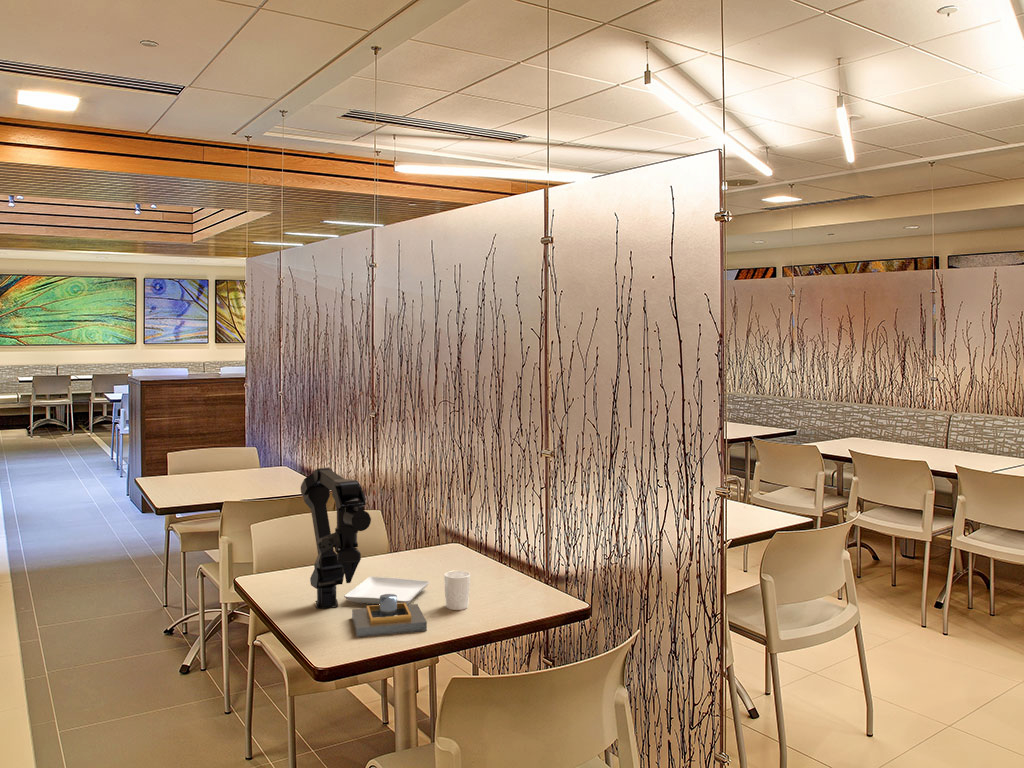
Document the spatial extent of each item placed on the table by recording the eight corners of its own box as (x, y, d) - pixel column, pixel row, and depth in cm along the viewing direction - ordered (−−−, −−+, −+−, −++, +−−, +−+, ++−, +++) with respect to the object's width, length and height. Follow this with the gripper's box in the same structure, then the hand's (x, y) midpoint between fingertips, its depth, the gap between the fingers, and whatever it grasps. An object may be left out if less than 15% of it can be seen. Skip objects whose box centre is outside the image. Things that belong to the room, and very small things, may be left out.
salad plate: (408, 611, 232) (408, 600, 231) (342, 606, 236) (342, 595, 236) (430, 590, 252) (430, 580, 252) (369, 586, 257) (369, 575, 257)
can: (378, 622, 221) (378, 594, 221) (395, 620, 222) (395, 593, 222) (380, 628, 216) (380, 599, 216) (397, 626, 218) (398, 598, 217)
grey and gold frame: (352, 618, 224) (352, 604, 224) (417, 612, 230) (417, 599, 229) (356, 637, 209) (356, 622, 209) (426, 630, 214) (426, 616, 214)
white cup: (470, 602, 239) (470, 570, 239) (469, 611, 231) (469, 577, 231) (444, 602, 239) (444, 570, 238) (443, 611, 231) (443, 577, 231)
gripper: (316, 519, 229) (317, 571, 229) (319, 533, 211) (319, 590, 211) (355, 517, 232) (355, 569, 232) (360, 531, 214) (360, 586, 214)
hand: (347, 578), depth 222 cm, fingers open, 9 cm apart
